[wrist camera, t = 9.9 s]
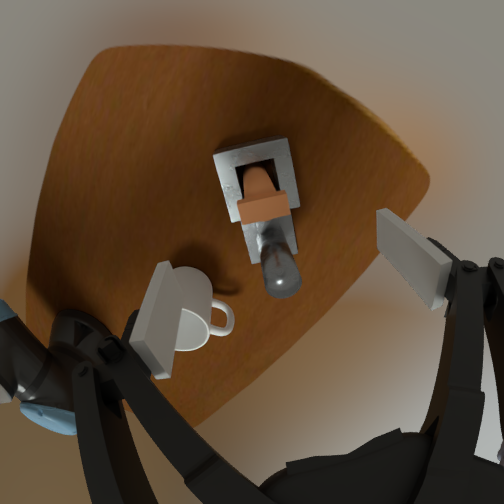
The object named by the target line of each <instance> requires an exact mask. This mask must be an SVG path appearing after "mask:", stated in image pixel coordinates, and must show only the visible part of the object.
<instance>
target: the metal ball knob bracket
mask: <svg viewBox="0 0 504 504" xmlns="http://www.w3.org/2000/svg"><path fill="white" fill-rule="evenodd" d="M213 158H214V161H215V165H216V168H217V172H218V176H219V179H220V183H221V186H222V190H223V193H224V197H225V201H226V204H227V208H228V211H229V215H230V218H231V222H236V221H241V218H240V215H239V211H238V207H237V200H241V199H245V198H244V193H242V189H241V185H240V181H239V177H238V173H237V170H236V167H237V166H241V165H245V164H249V163H253V162H258V161H262V160H267V159H270V160H271V165H272V170H273V174H274V179H275V184H276V185H274V188H275V190H276V191H281V190H285V192H286V193H287V197H288V203H289V208H290V209H292V208H296V207H300V202H299V196H298V191H297V185H296V180H295V174H294V169H293V164H292V159H291V154H290V149H289V144H288V139H287V138H286V137H284V136H282V135H277V136H272V137H267V138H263V139H258V140H254V141H249V142H245V143H241V144H236V145H232V146H228V147H225V148H221V149H217V150H215V152H214V154H213ZM290 213H291V211H290ZM241 225H242V222H241ZM242 229H243V232H244V236H245V240H246V243H247V247H248V251H249V255H250V258H251V262H252V264H254V263H258V262H261V267H262V272H263V278H264V283H265V288H266V291H267V292H268V293H269V294H270V295H271V296H273V297H275V298H287V297H290V296H292V295H294V294H295V293H296V292H297V291H298V290H299V289H300V287H301V284H302V279H301V276H300V273H299V271H298V268H297V265H296V263H295V260H294V258H293V255H292V254H297V253H298V251H297V245H296V239H295V233H294V227H293V222H292V216H291V215H286V216H281V217H277V218H273V219H271V220H269V221H265V222H261V221H259V222H255V223H250V224H246V225H242Z"/></svg>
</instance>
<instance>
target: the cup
mask: <svg viewBox="0 0 504 504" xmlns="http://www.w3.org/2000/svg"><path fill="white" fill-rule="evenodd" d="M173 271H174V273H175V275H176V278H177V280H178V282H179V284H180V287H181V289H182V291H183V293H184V301H183V306H182V311H181V317H180V322H179V328H178V334H177V339H176V345H175V350H178V351H190V350H195V349H198V348H200V347H201V346H203V345H204V344H205V343H206V342H207V340H208V338H209V335H210V334H213V335H217V336H225V335H228V334H229V333H230V332H231V331H232V329H233V326H234V314H233V311H232V309H231V308H230V307H229V306H228V305H227V304H226V303H224V302H222V301H220V300H217V299H214V298H212V295H213V289H212V284H211V282H210V280H209V278H208V277H207V276H206V275H205V274H204V273H203V272H202V271H200V270H198V269H196V268H193V267H186V266H185V267H178V268H175V269H173ZM212 307H216V308H219V309H222V310H223V311H224V312H225V313H226V315H227V324H226V326H225V327H224V328H221V327H217V326H214V325H212V324H210V321H211V308H212Z"/></svg>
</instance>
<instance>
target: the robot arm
mask: <svg viewBox="0 0 504 504" xmlns="http://www.w3.org/2000/svg"><path fill="white" fill-rule="evenodd" d="M376 212H377V249H378V250H379V251H380V252H381V253H382V254H383V255H384V256H385V257H386V258H387V260H389V262H390V263H391V264H392V265H393V266H394V267H395V268H396V269H397V271H398V272H399V273H400V274H401V275H402V276H403V277H404V279H405V280H406V281H407V282H408V283H409V284H410V285H411V287H412V288H413V289H414V290H415V291H416V293H417V294H418V295H419V296H420V297H421V299H422V300H423V301H424V302H425V303H426V305H427V306H428V307H429V309H430V310H431V311H432V310H434V309H436V308H438V307H441V306H442V305H443V301H444V297H446V298H447V300H448V301H449V302H448V305H447V309H446V312H445V316H444V317H446V324H445V331H444V339H443V345H442V352H441V357H440V363H439V368H438V373H437V377H436V382H435V386H434V390H433V394H432V399H431V402H430V406H429V409H428V412H427V416H426V419H425V421H424V423H423V425H422V427H421V430H420V432H419V433H418V432H406V433H402V432H401V430H400V428H398V429H395V430H393V431H391V432H388V433H386V434H383V435H381V436H378V437H375V438H373V439H372V440H370V441H369V442H367V443H365V444H364V445H362V446H360V447H359V448H357V449H356V450H354V451H352V452H350V453H348V454H345V455H332V456H313V457H309V458H305V459H300V460H296V461H291V462H286V467H287V468H284V469H282V470H280V471H278V472H276V473H275V474H273V475H272V476H270V477H269V478H268V479H266V480H265V481H264V482H263V483H262V484H261V485H260V486H259V487H258V486H256V485H255V484H254V483H253V482H251V481H250V480H249V479H248V478H246V477H245V476H244V475H243V474H241V473H240V472H239V471H238V470H237V469H235V468H234V467H233V466H232V465H231V464H230V463H228V462H227V461H226V460H225V459H224V458H223V457H222V456H221V455H220V454H219V453H217V452H216V451H215V450H214V449H213V448H212V447H211V446H210V445H209V444H208V443H207V442H206V441H205V440H204V439H203V438H202V437H201V436H200V435H199V434H198V433H197V432H196V431H195V430H194V429H193V428H192V427H191V426H190V425H189V424H188V423H187V422H186V420H185V419H184V418H183V417H182V416H181V415H180V414H179V413H178V412H177V411H176V409H175V408H174V407H173V406H172V405H171V404H170V403H169V401H168V400H167V399H166V398H165V397H164V396H163V394H162V393H161V392H160V391H159V389H158V388H157V387H156V386H155V385H154V383H153V382H152V381H151V380H150V376H151V373H152V374H153V375H154V376H155V378H156V379H164V378H171V371H172V364H173V358H174V352H175V345H176V339H177V334H178V328H179V322H180V317H181V311H182V306H183V301H184V293H183V291H182V289H181V287H180V284H179V282H178V280H177V278H176V275H175V273H174V271H173V269H172V266H171V264H170V262H169V260H168V261H164V262H160V263H158V264H157V266H156V269H155V271H154V274H153V276H152V279H151V281H150V284H149V287H148V289H147V292H146V295H145V297H144V300H143V303H142V305H141V308H140V309H139V310H134V312H133V313H132V314H131V315H130V317H129V319H128V321H127V325H126V327H125V329H124V330H125V331H124V332H123V335H122V338H121V340H120V339H119V338H118V337H117V336H116V335H111V333H110V332H109V331H108V330H107V328H106V327H105V326H104V325H103V324H101V323H100V322H99V321H98V320H96V319H95V318H93V317H92V316H90V315H88V314H86V313H84V312H81V311H78V310H72V309H67V310H63V311H61V312H59V313H58V315H57V316H56V318H55V320H54V321H53V324H52V330H51V335H50V341H49V346H48V349H47V348H46V347H45V346H44V345H43V344H42V343H41V342H40V341H39V340H38V339H37V338H36V337H35V336H34V334H33V333H32V332H31V331H30V330H29V329H28V328H27V326H26V325H25V324H24V323H23V322H22V321H21V319H20V318H19V317H18V314H17V313H15V312H14V311H13V310H12V309H11V308H10V307H9V306H8V304H7V303H6V302H5V301H4V300H2V299H0V404H1V403H7V402H11V401H12V399H13V397H14V396H16V397H17V398H18V399H19V400H20V401H21V403H20V410H21V412H22V413H23V414H24V415H25V416H26V417H28V418H29V419H30V420H32V421H34V422H35V423H37V424H39V425H41V426H43V427H45V428H47V429H49V430H52V431H55V432H57V433H61V434H65V435H75V434H77V437H78V443H79V449H80V455H81V460H82V465H83V469H84V474H85V478H86V483H87V487H88V491H89V494H90V498H91V501H92V504H158V502H157V499H156V497H155V495H154V493H153V491H152V489H151V486H150V484H149V481H148V479H147V476H146V474H145V471H144V469H143V466H142V464H141V462H140V458H139V456H138V453H137V450H136V447H135V444H134V441H133V438H132V435H131V432H130V429H129V425H128V421H127V418H126V414H125V411H124V407H123V403H122V399H125V400H126V401H127V403H128V404H129V406H130V408H131V409H132V411H133V412H134V414H135V415H136V417H137V418H138V420H139V421H140V423H141V424H142V425H143V427H144V428H145V430H146V431H147V433H148V434H149V435H150V437H151V438H152V440H153V441H154V442H155V444H156V445H157V446H158V447H159V449H160V450H161V451H162V453H163V454H164V455H165V456H166V458H167V459H168V460H169V461H170V463H171V464H172V465H173V466H174V467H175V468H176V469H177V471H178V472H179V473H180V474H181V475H182V477H183V478H184V483H185V484H186V486H187V487H188V488H189V489H190V490H191V492H192V493H193V494H194V495H195V496H196V497H197V498H198V499H199V500H200V501H201V502H202V503H203V504H504V260H503V259H501V258H497V257H494V258H491V259H490V260H489V263H488V267H478V266H477V265H476V264H475V263H474V262H472V261H468V260H467V261H466V260H463V261H460V260H459V259H458V258H457V257H456V256H454V255H453V254H452V253H451V252H450V251H449V250H447V249H446V248H445V247H444V246H442V245H441V244H440V243H439V242H437V241H436V240H434V239H431V238H429V237H428V238H425V237H424V236H423V235H421V234H420V233H419V232H418V231H416V230H415V229H414V228H412V227H411V226H410V225H409V224H407V223H406V222H405V221H403V220H402V219H401V218H399V217H398V216H397V215H395V214H394V213H393V212H391V211H390V210H389V209H387V208H384V209H380V210H376ZM484 328H485V332H486V335H487V339H488V343H489V348H490V352H491V357H492V362H493V367H494V373H495V380H496V386H497V394H498V403H499V414H500V425H501V432H502V438H503V442H502V444H501V448H500V450H499V451H498V455H497V457H498V460H499V461H500V464H497V463H494V462H491V461H489V460H486V459H484V458H481V457H478V456H476V455H474V452H475V448H476V444H477V440H478V436H479V431H480V426H481V421H482V415H483V409H484V402H485V393H484V392H481V379H482V367H483V349H484Z"/></svg>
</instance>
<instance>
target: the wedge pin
mask: <svg viewBox="0 0 504 504" xmlns="http://www.w3.org/2000/svg"><path fill="white" fill-rule="evenodd" d="M243 182H244V198H245V199H241V200H237V207H238V211H239V215H240V218H241V222H242V225H246V224H250V223H255V222H259V221H261V222H265V221H269V220H271V219H273V218H277V217H281V216H286V215H291V213H290V208H289V203H288V197H287V193H286V192H285V190H281V191H276V190H275V188H274V186H273V184H272V182H271V180H270V178H269V176H268V174H267V172H266V170H265V168H264V166H263V165H262V164H261V163H259V162H253V163H249V164H247V165H246V166H245V167H244V169H243Z"/></svg>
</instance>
